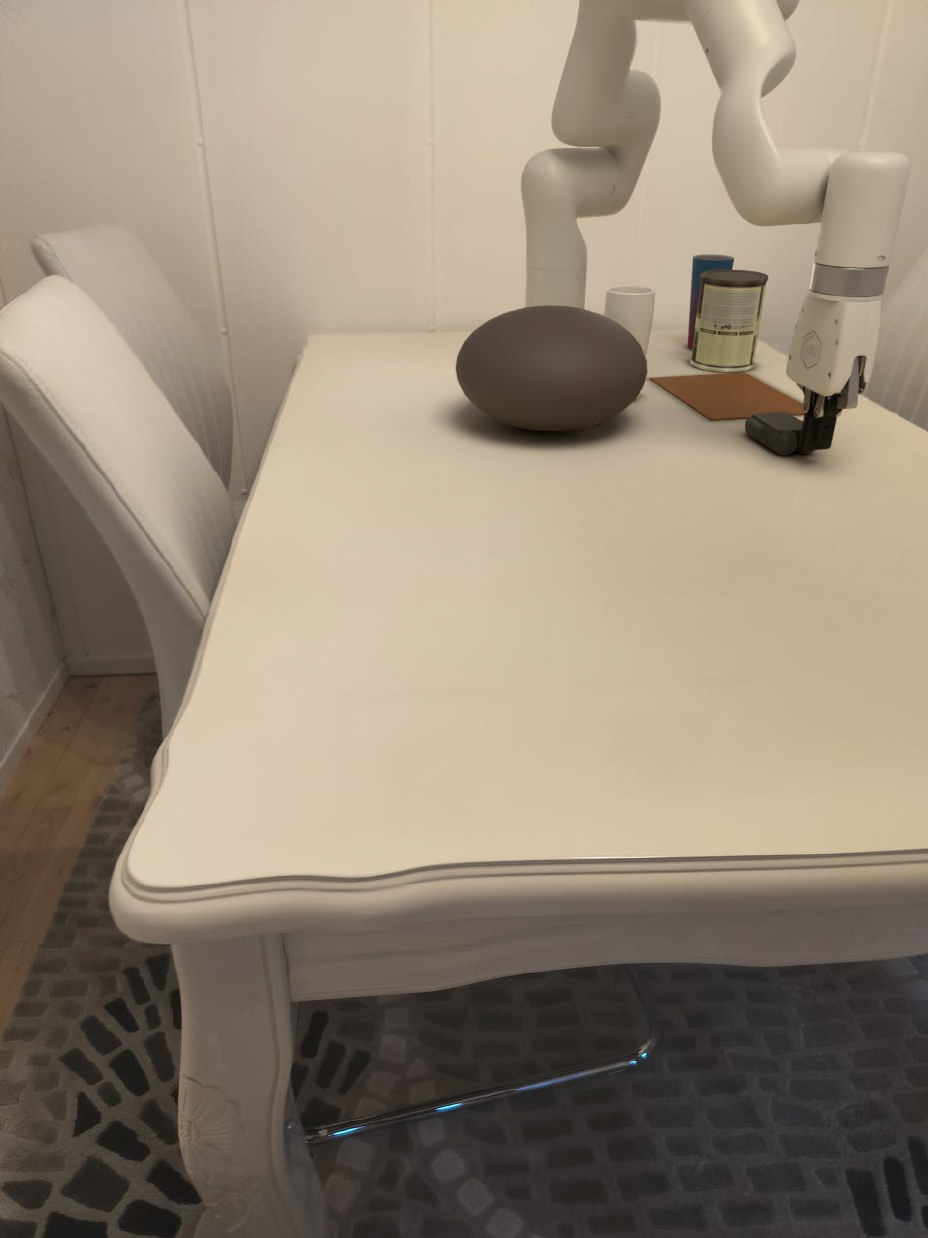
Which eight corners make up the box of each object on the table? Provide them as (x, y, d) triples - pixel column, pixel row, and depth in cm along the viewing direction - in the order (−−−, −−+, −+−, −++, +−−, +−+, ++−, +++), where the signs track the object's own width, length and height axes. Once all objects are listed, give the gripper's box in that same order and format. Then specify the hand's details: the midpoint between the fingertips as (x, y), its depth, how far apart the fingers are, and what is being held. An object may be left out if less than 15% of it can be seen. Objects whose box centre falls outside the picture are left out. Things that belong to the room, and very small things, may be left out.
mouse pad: (710, 420, 120) (711, 419, 120) (649, 378, 138) (649, 377, 138) (818, 413, 122) (819, 411, 122) (744, 373, 141) (744, 372, 141)
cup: (722, 353, 153) (735, 260, 146) (682, 351, 154) (693, 259, 147) (720, 344, 159) (733, 254, 152) (682, 342, 160) (692, 253, 153)
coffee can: (678, 359, 149) (688, 270, 142) (733, 355, 152) (745, 267, 145) (709, 374, 141) (722, 280, 134) (766, 370, 143) (781, 277, 136)
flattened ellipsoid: (602, 393, 131) (611, 287, 124) (672, 447, 110) (687, 323, 103) (439, 403, 127) (438, 294, 119) (479, 461, 106) (480, 333, 98)
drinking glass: (648, 393, 131) (659, 286, 124) (640, 406, 126) (651, 295, 118) (602, 389, 133) (611, 284, 126) (593, 401, 128) (601, 292, 120)
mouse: (777, 459, 106) (781, 435, 105) (739, 433, 115) (742, 410, 113) (821, 456, 107) (826, 431, 106) (780, 430, 116) (784, 408, 114)
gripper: (780, 272, 100) (754, 430, 109) (855, 295, 88) (819, 471, 97) (840, 270, 102) (809, 426, 111) (923, 292, 89) (881, 466, 98)
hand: (814, 447), depth 104 cm, fingers closed
